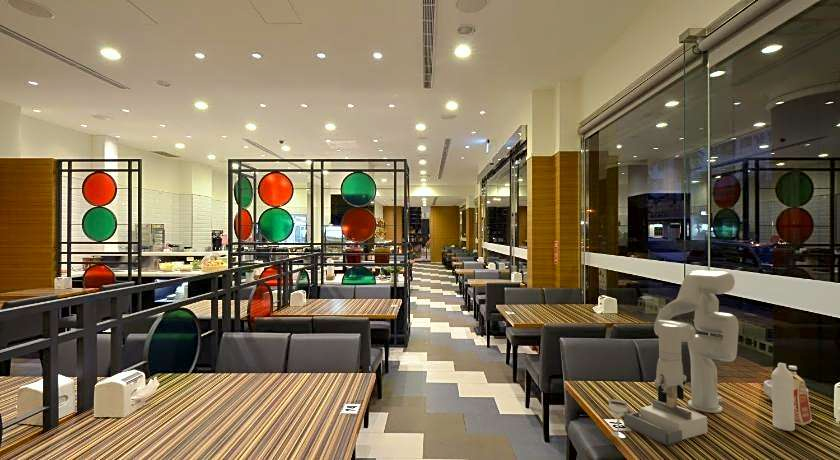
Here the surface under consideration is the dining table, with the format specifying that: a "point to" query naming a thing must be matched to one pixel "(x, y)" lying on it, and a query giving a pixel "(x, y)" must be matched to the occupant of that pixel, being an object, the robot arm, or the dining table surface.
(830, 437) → the dining table surface
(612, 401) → the wineglass
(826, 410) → the dining table surface
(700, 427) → the white flat square block
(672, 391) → the scraper
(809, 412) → the milk carton
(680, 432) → the tray
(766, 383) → the paper bowls
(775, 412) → the water bottle
